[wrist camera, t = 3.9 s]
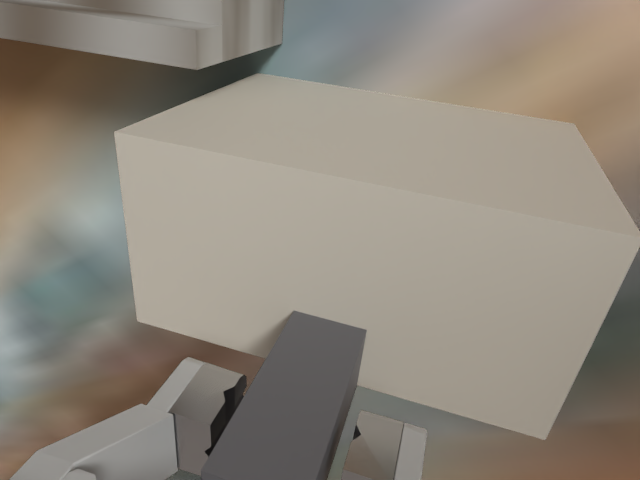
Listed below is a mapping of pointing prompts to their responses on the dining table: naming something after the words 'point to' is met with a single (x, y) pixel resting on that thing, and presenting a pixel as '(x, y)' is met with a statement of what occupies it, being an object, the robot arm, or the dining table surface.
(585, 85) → the dining table surface
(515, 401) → the cabinet
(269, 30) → the wood-topped platform
